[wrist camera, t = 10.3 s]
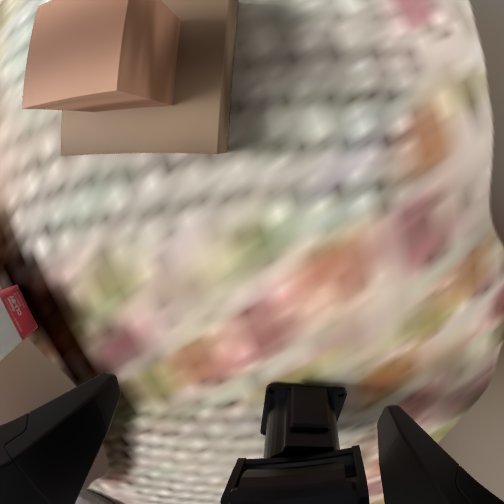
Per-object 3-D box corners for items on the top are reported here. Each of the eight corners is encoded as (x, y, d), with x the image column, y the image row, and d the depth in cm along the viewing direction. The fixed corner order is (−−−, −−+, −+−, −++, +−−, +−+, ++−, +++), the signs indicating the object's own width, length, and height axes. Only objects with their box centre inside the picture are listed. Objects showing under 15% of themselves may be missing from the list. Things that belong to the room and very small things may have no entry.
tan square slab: (227, 152, 18) (216, 153, 15) (86, 152, 19) (60, 156, 16) (238, 2, 15) (230, -18, 12) (98, 20, 16) (75, 9, 13)
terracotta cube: (173, 105, 15) (116, 90, 9) (93, 112, 15) (22, 108, 9) (181, 20, 13) (133, -26, 7) (101, 33, 13) (37, 6, 8)
